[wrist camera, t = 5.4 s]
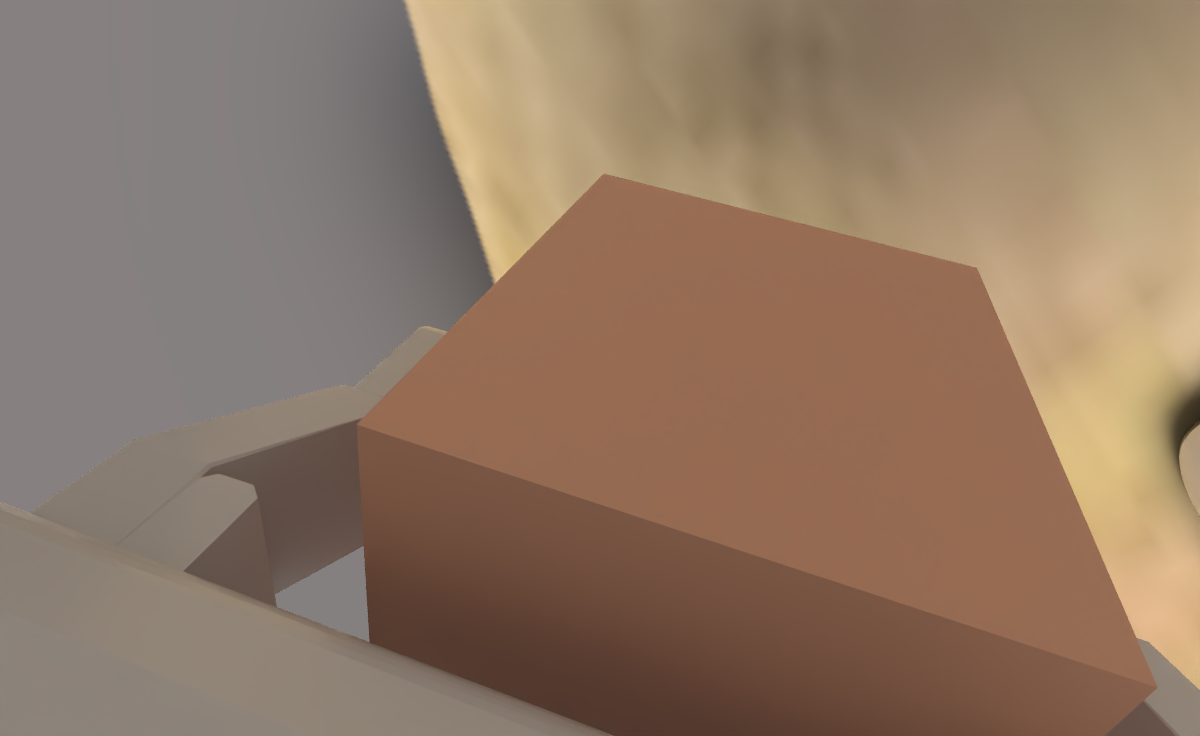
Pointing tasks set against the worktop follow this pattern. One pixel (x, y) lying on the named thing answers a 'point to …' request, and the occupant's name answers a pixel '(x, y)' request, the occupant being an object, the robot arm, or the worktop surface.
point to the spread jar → (1191, 464)
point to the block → (739, 493)
